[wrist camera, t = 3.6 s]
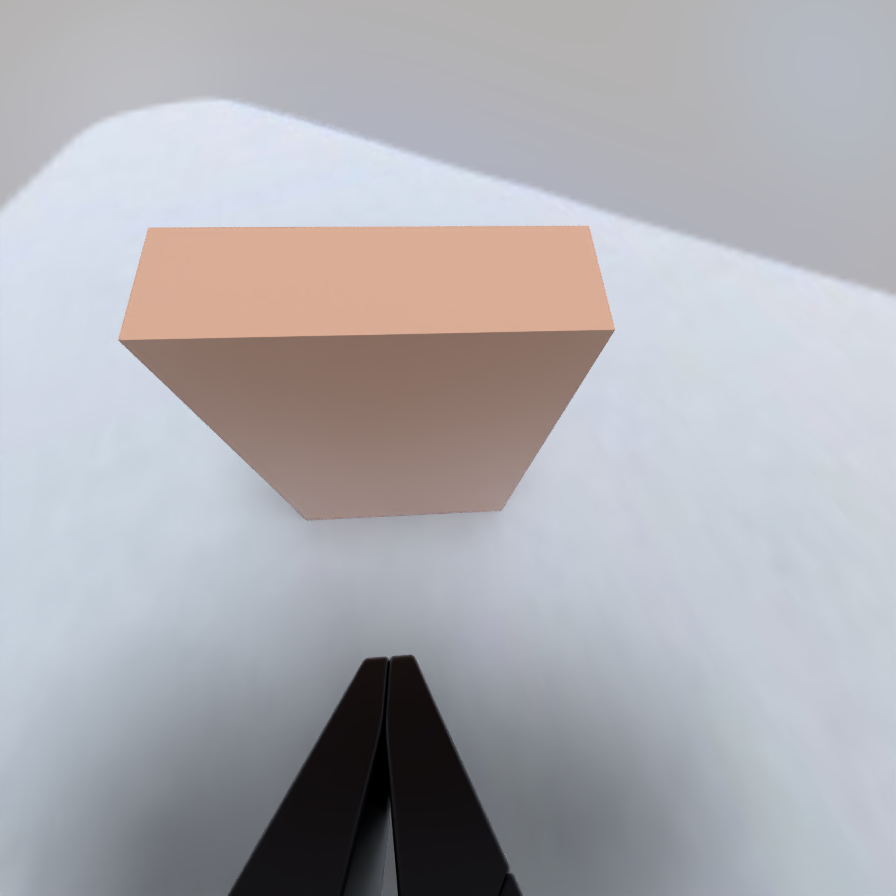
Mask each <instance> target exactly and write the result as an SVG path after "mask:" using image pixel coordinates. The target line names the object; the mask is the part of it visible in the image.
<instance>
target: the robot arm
mask: <svg viewBox="0 0 896 896" xmlns="http://www.w3.org/2000/svg"><path fill="white" fill-rule="evenodd" d="M390 808H391V818H392V829H393V841H394V853H395V864H396V876H397V888H398V896H523V894H522V892H521V890H520V888H519V885H518V883H517V881H516V879H515V877H514V875H513V874H512V873H509V872H510V867H509V864H508V862H507V860H506V857H505V855H504V853H503V851H502V849H501V846H500V844H499V842H498V840H497V838H496V835H495V833H494V831H493V829H492V827H491V824H490V822H489V820H488V818H487V815H486V813H485V811H484V809H483V807H482V804H481V802H480V800H479V798H478V796H477V793H476V791H475V789H474V787H473V785H472V782H471V780H470V778H469V776H468V773H467V771H466V769H465V767H464V765H463V762H462V760H461V758H460V756H459V754H458V751H457V749H456V747H455V745H454V742H453V740H452V738H451V736H450V734H449V731H448V729H447V727H446V725H445V723H444V720H443V718H442V716H441V714H440V712H439V709H438V707H437V705H436V703H435V700H434V698H433V696H432V694H431V692H430V689H429V687H428V685H427V683H426V681H425V678H424V676H423V674H422V672H421V670H420V667H419V665H418V663H417V661H416V659H415V657H414V656H413V655H401V656H392V657H391V658H390V661H389V659H388V658H387V657H372V658H366V659H365V660H364V661H363V662H362V664H361V665H360V667H359V669H358V671H357V672H356V674H355V676H354V678H353V679H352V681H351V683H350V684H349V686H348V688H347V690H346V691H345V693H344V695H343V697H342V698H341V700H340V702H339V703H338V705H337V707H336V709H335V710H334V712H333V714H332V716H331V717H330V719H329V721H328V722H327V724H326V726H325V728H324V729H323V731H322V733H321V735H320V736H319V738H318V740H317V741H316V743H315V745H314V747H313V748H312V750H311V752H310V753H309V755H308V757H307V759H306V760H305V762H304V764H303V766H302V767H301V769H300V771H299V772H298V774H297V776H296V778H295V779H294V781H293V783H292V785H291V786H290V788H289V790H288V791H287V793H286V795H285V797H284V798H283V800H282V802H281V804H280V805H279V807H278V809H277V810H276V812H275V814H274V816H273V817H272V819H271V821H270V823H269V824H268V826H267V828H266V829H265V831H264V833H263V835H262V836H261V838H260V840H259V842H258V843H257V845H256V847H255V848H254V850H253V852H252V854H251V855H250V857H249V859H248V860H247V862H246V864H245V866H244V867H243V869H242V871H241V873H240V874H239V876H238V878H237V879H236V881H235V883H234V885H233V886H232V888H231V890H230V892H229V893H228V895H227V896H381V890H382V881H383V873H384V864H385V855H386V847H387V838H388V829H389V819H390Z"/></svg>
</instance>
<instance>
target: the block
mask: <svg viewBox="0 0 896 896" xmlns="http://www.w3.org/2000/svg"><path fill="white" fill-rule="evenodd" d="M614 331H615V328H614V324H613V320H612V316H611V312H610V308H609V304H608V300H607V296H606V292H605V288H604V284H603V280H602V276H601V272H600V268H599V264H598V260H597V256H596V252H595V248H594V244H593V240H592V236H591V232H590V228H589V226H447V227H203V228H148V231H147V235H146V239H145V242H144V246H143V250H142V253H141V257H140V261H139V265H138V268H137V272H136V276H135V280H134V283H133V287H132V291H131V294H130V298H129V302H128V306H127V309H126V313H125V317H124V321H123V324H122V328H121V332H120V335H119V339H118V340H119V341H120V342H121V343H122V344H123V345H124V346H125V347H126V348H127V349H128V350H129V351H130V352H131V353H132V354H133V355H134V356H135V357H137V358H138V359H139V360H140V361H141V362H142V363H143V364H144V365H145V366H146V367H147V368H148V369H149V370H150V371H151V372H152V373H153V374H154V375H155V376H156V377H157V378H158V379H160V380H161V381H162V382H163V383H164V384H165V385H166V386H167V387H168V388H169V389H170V390H171V391H172V392H173V393H174V394H175V395H176V396H177V397H178V398H179V399H180V400H182V401H183V402H184V403H185V404H186V405H187V406H188V407H189V408H190V409H191V410H192V411H193V412H194V413H195V414H196V415H197V416H198V417H199V418H200V419H201V420H202V421H203V422H205V423H206V424H207V425H208V426H209V427H210V428H211V429H212V430H213V431H214V432H215V433H216V434H217V435H218V436H219V437H220V438H221V439H222V440H223V441H224V442H225V443H226V444H228V445H229V446H230V447H231V448H232V449H233V450H234V451H235V452H236V453H237V454H238V455H239V456H240V457H241V458H242V459H243V460H244V461H245V462H246V463H247V464H248V465H250V466H251V467H252V468H253V469H254V470H255V471H256V472H257V473H258V474H259V475H260V476H261V477H262V478H263V479H264V480H265V481H266V482H267V483H268V484H269V485H270V486H271V487H273V488H274V489H275V490H276V491H277V492H278V493H279V494H280V495H281V496H282V497H283V498H284V499H285V500H286V501H287V502H288V503H289V504H290V505H291V506H292V507H293V508H295V509H296V510H297V511H298V512H299V513H300V514H301V515H302V516H303V517H304V518H305V519H306V520H320V519H341V518H361V517H381V516H402V515H422V514H442V513H463V512H483V511H501V510H502V509H503V507H504V505H505V504H506V502H507V501H508V499H509V497H510V496H511V494H512V493H513V491H514V490H515V488H516V486H517V485H518V483H519V482H520V480H521V478H522V477H523V475H524V474H525V472H526V470H527V469H528V467H529V466H530V464H531V463H532V461H533V459H534V458H535V456H536V455H537V453H538V451H539V450H540V448H541V447H542V445H543V443H544V442H545V440H546V439H547V437H548V435H549V434H550V432H551V431H552V429H553V428H554V426H555V424H556V423H557V421H558V420H559V418H560V416H561V415H562V413H563V412H564V410H565V408H566V407H567V405H568V404H569V402H570V400H571V399H572V397H573V396H574V394H575V393H576V391H577V389H578V388H579V386H580V385H581V383H582V381H583V380H584V378H585V377H586V375H587V373H588V372H589V370H590V369H591V367H592V366H593V364H594V362H595V361H596V359H597V358H598V356H599V354H600V353H601V351H602V350H603V348H604V346H605V345H606V343H607V342H608V340H609V338H610V337H611V335H612V334H613V332H614Z"/></svg>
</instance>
